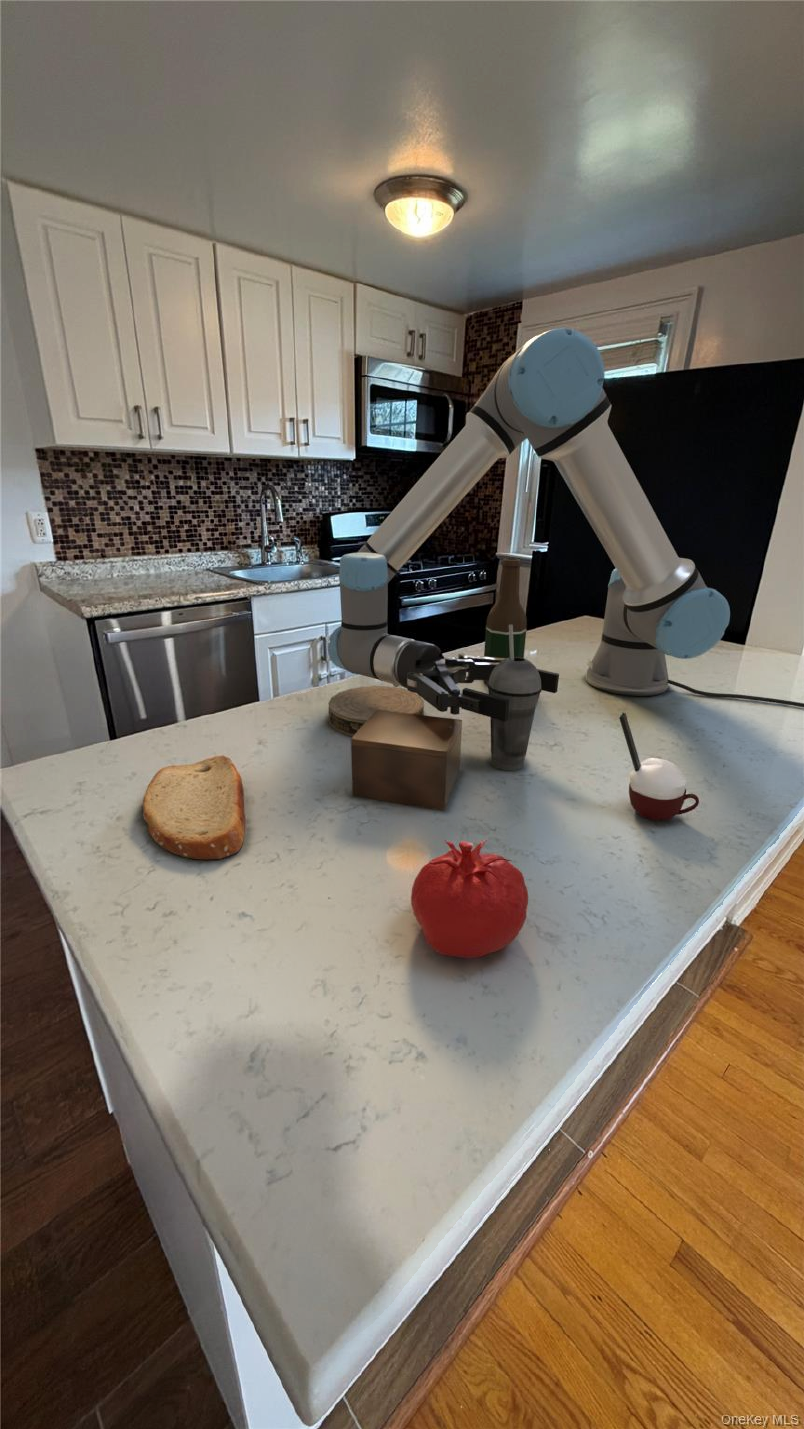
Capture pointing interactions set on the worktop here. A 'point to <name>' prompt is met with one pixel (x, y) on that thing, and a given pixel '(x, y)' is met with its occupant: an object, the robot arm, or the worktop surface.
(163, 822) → the bread slice
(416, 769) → the riser
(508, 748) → the beverage cup
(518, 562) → the beer bottle
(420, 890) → the pomegranate
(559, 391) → the robot arm
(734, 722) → the worktop surface
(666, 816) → the cocoa
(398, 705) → the tan flat ringed disc
